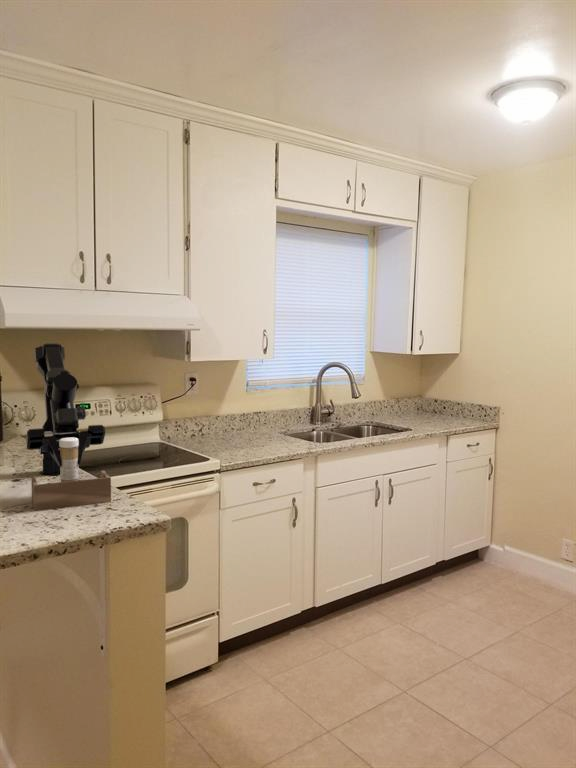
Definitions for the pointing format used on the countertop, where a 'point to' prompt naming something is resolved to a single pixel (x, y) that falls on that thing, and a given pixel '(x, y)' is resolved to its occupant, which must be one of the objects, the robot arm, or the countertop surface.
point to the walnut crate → (71, 492)
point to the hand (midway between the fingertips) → (70, 464)
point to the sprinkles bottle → (69, 459)
